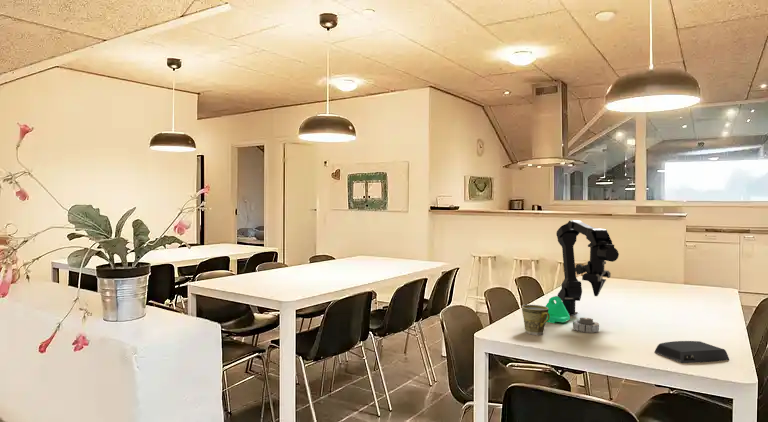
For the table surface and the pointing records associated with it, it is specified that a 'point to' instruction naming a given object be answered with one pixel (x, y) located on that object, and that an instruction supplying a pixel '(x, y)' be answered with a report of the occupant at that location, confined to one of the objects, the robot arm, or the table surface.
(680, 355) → the external hard drive
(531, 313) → the ceramic cup
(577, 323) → the grey piece
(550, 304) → the camera mount
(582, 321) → the cap
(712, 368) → the table surface
